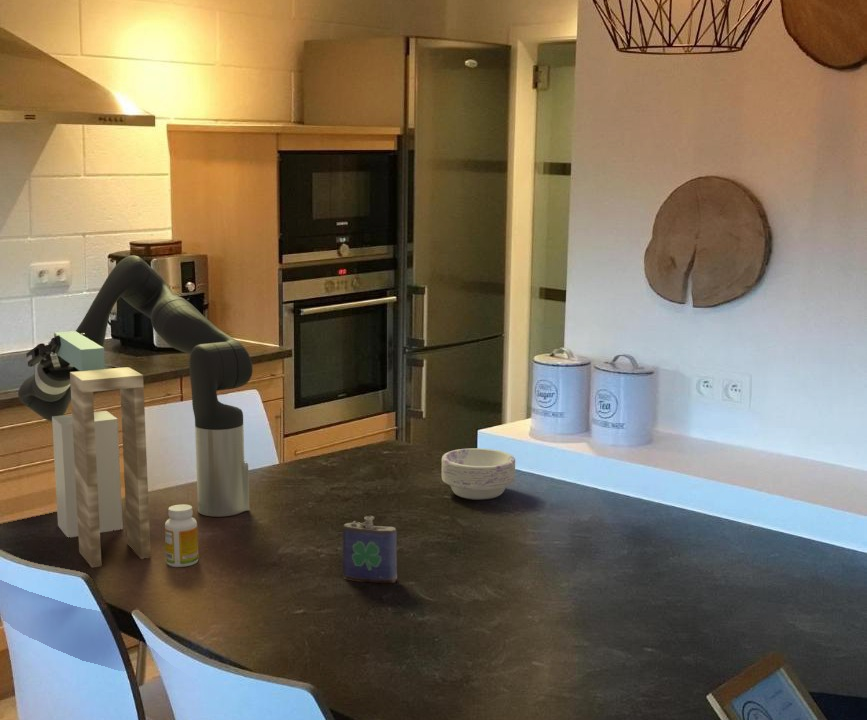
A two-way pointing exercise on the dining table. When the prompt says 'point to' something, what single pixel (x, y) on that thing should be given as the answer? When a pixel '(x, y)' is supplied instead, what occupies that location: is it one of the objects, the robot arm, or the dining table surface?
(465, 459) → the paper bowls
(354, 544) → the flask
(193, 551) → the supplement bottle
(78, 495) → the bridge
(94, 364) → the pale green long bar
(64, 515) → the light grey tall block
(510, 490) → the dining table surface
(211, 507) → the robot arm
